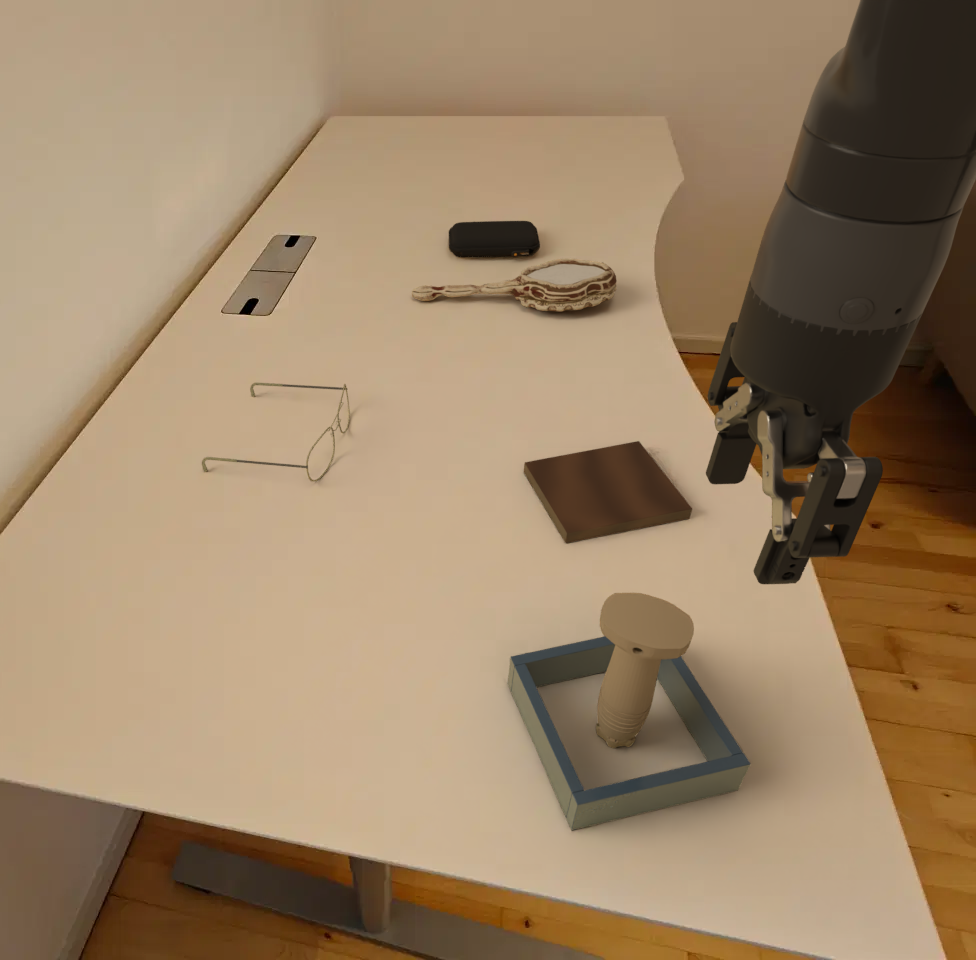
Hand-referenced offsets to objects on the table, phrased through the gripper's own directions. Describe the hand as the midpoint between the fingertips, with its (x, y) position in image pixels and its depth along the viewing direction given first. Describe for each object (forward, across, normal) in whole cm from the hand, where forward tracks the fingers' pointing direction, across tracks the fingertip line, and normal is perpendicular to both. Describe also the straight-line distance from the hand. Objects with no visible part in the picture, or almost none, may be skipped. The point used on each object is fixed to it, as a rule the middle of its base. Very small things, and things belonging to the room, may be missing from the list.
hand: (746, 526), depth 50 cm
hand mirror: (+28, +77, +1) cm, 82 cm away
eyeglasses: (+28, +45, +34) cm, 63 cm away
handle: (+28, +3, +3) cm, 28 cm away
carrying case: (+28, +94, +2) cm, 98 cm away
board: (+27, +33, -3) cm, 43 cm away
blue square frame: (+27, +3, +3) cm, 28 cm away
